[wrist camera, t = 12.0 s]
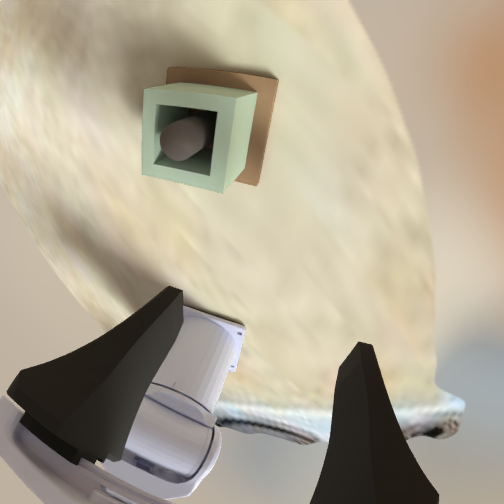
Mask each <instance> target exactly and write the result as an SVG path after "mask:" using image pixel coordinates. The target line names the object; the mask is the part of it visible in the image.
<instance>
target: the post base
mask: <svg viewBox="0 0 504 504" xmlns="http://www.w3.org/2000/svg"><path fill="white" fill-rule="evenodd" d="M278 81H279V80H278V79H272V78H267V77H261V76H255V75H249V74H242V73H235V72H227V71H218V70H208V69H196V68H179V67H168V71H167V80H166V85H167V84H173V83H180V82H182V83H194V84H204V85H213V86H221V87H228V88H235V89H241V90H247V91H253V92H258V94H257V99H256V105H255V111H254V116H253V122H252V128H251V133H250V139H249V145H248V151H247V157H246V163H245V169H244V170H243V171H242V172H241V173H240V174H239V176H238V177H237V178H236V179H235V180H234V181H237V182H241V183H245V184H249V185H253V186H257V185H258V183H259V178H260V173H261V168H262V163H263V158H264V153H265V147H266V142H267V137H268V132H269V127H270V122H271V117H272V112H273V107H274V101H275V96H276V91H277V86H278ZM217 113H218V112H216V111H210V110H203V109H196V108H189V114H188V117H186V118H183V119H181V120H178V121H176V122H173V123H171V124H169V125H167V126H166V127H165V128H164V129H163V130H162V132H161V134H160V146H161V149H162V151H163V152H164V154H165V155H166V156H167V157H169V158H170V159H172V160H175V161H183V160H186V159H188V158H189V157H191V156H192V155H194V154H195V153H197V152H198V151H200V150H201V149H203V148H207V149H212V150H213V145H214V137H215V129H216V121H217Z"/></svg>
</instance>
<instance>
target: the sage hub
mask: <svg viewBox="0 0 504 504" xmlns="http://www.w3.org/2000/svg"><path fill="white" fill-rule="evenodd" d="M257 94H258V92H253V91H247V90H241V89H235V88H228V87H221V86H213V85H204V84H194V83H182V82H180V83H173V84H167V85H161V86H156V87H150V88H145V89H144V97H143V117H142V175H146V176H150V177H155V178H159V179H164V180H168V181H173V182H177V183H181V184H186V185H190V186H194V187H198V188H202V189H206V190H210V191H214V192H218V193H222V194H223V193H224V192H225V191H226V190H227V188H228V187H229V186H230V185H231V184H232V183H233V181H234V180H235V179H236V178H237V177H238V176H239V174H240V173H241V172H242V171H243V170H244V169H245V163H246V157H247V151H248V145H249V139H250V133H251V128H252V122H253V116H254V111H255V105H256V99H257ZM189 108H196V109H203V110H210V111H216V112H218V113H217V121H216V129H215V137H214V145H213V150H212V149H207V148H203V149H201V150H200V151H198V152H197V153H195V154H194V155H192V156H191V157H189V158H188V159H186V160H183V161H175V160H172V159H170V158H169V157H167V156H166V155H165V154H164V152H163V151H162V149H161V146H160V134H161V132H162V130H163V129H164V128H165V127H166V126H167V125H169V124H171V123H173V122H176V121H178V120H181V119H183V118H186V117H188V114H189Z"/></svg>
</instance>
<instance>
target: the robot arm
mask: <svg viewBox="0 0 504 504" xmlns="http://www.w3.org/2000/svg"><path fill="white" fill-rule="evenodd" d="M245 332H246V328H245V327H244V326H243V325H240V324H237V323H234V322H231V321H227V320H224V319H221V318H218V317H215V316H212V315H209V314H206V313H204V312H201V311H198V310H195V309H192V308H189V307H186V306H184V305H183V290H180V289H177V288H174V287H171V286H168V287H166V288H165V289H164V290H163V291H161V292H160V293H159V294H158V295H157V296H155V297H154V298H153V299H152V300H150V301H149V302H148V303H147V304H145V305H144V306H143V307H142V308H140V309H139V310H138V311H136V312H135V313H134V314H133V315H131V316H130V317H129V318H127V319H126V320H124V321H123V322H122V323H120V324H119V325H117V326H116V327H114V328H113V329H111V330H110V331H108V332H107V333H105V334H104V335H102V336H100V337H99V338H97V339H95V340H94V341H92V342H90V343H88V344H87V345H85V346H83V347H81V348H79V349H77V350H75V351H73V352H71V353H68V354H66V355H64V356H61V357H59V358H57V359H54V360H52V361H49V362H46V363H43V364H40V365H37V366H34V367H30V368H27V369H23V370H21V371H20V372H19V374H18V375H17V376H16V378H15V379H14V381H13V382H12V384H11V385H10V387H9V389H8V390H7V394H8V395H9V396H10V397H11V398H12V399H13V400H14V401H15V402H16V403H17V404H18V405H19V406H20V407H22V408H23V409H24V410H25V413H24V412H23V411H21V410H20V409H19V408H18V407H16V406H15V405H14V404H13V403H12V402H11V401H10V400H9V399H8V398H6V397H5V396H2V397H1V399H0V456H1V457H2V458H3V460H4V461H5V462H6V463H7V464H8V465H9V467H10V468H11V469H12V470H13V471H14V472H15V473H16V474H17V475H18V477H19V478H20V479H21V480H22V481H23V482H24V483H25V484H26V485H27V486H28V488H29V489H30V490H31V491H32V492H33V493H34V494H35V495H36V496H37V497H38V498H39V499H40V500H41V501H42V502H44V503H45V504H175V503H172V502H170V501H167V499H175V498H181V497H186V496H189V495H191V493H192V492H193V491H195V489H196V487H197V486H198V484H199V483H200V482H201V480H202V479H203V478H204V477H205V476H206V475H207V474H208V473H209V472H210V471H211V469H212V468H213V466H214V464H215V462H216V460H217V458H218V456H219V453H220V449H221V445H222V436H221V433H220V429H219V427H217V426H215V425H214V424H215V422H216V419H217V417H216V416H214V415H212V414H213V411H214V409H215V406H216V404H217V401H218V398H219V396H220V393H221V391H222V388H223V385H224V383H225V380H226V377H227V375H228V372H229V371H230V372H235V371H236V367H237V363H238V360H239V356H240V352H241V348H242V344H243V340H244V336H245ZM96 460H98V461H100V462H101V463H102V465H103V466H104V468H105V469H106V471H107V472H106V471H105V470H103V469H101V468H99V467H98V466H96V465H94V464H95V462H96ZM106 488H107V489H106ZM310 504H439V494H438V492H437V491H436V490H435V488H434V487H433V486H432V484H431V483H430V482H429V480H428V479H427V477H426V476H425V474H424V473H423V471H422V469H421V468H420V466H419V464H418V463H417V461H416V459H415V457H414V455H413V453H412V452H411V450H410V448H409V446H408V444H407V442H406V440H405V438H404V435H403V433H402V431H401V429H400V426H399V424H398V421H397V419H396V416H395V413H394V411H393V408H392V405H391V402H390V399H389V396H388V393H387V390H386V387H385V384H384V381H383V378H382V375H381V371H380V368H379V365H378V362H377V358H376V355H375V352H374V348H373V346H372V345H371V344H367V343H363V342H358V343H357V344H356V346H355V347H354V348H353V350H352V351H351V353H350V354H349V355H348V356H347V358H346V359H345V360H344V362H343V363H342V364H341V366H340V367H339V370H338V375H337V380H336V386H335V392H334V403H333V413H332V423H331V432H330V439H329V445H328V449H327V453H326V457H325V460H324V464H323V468H322V471H321V475H320V478H319V481H318V483H317V486H316V489H315V492H314V494H313V497H312V499H311V502H310Z"/></svg>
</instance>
